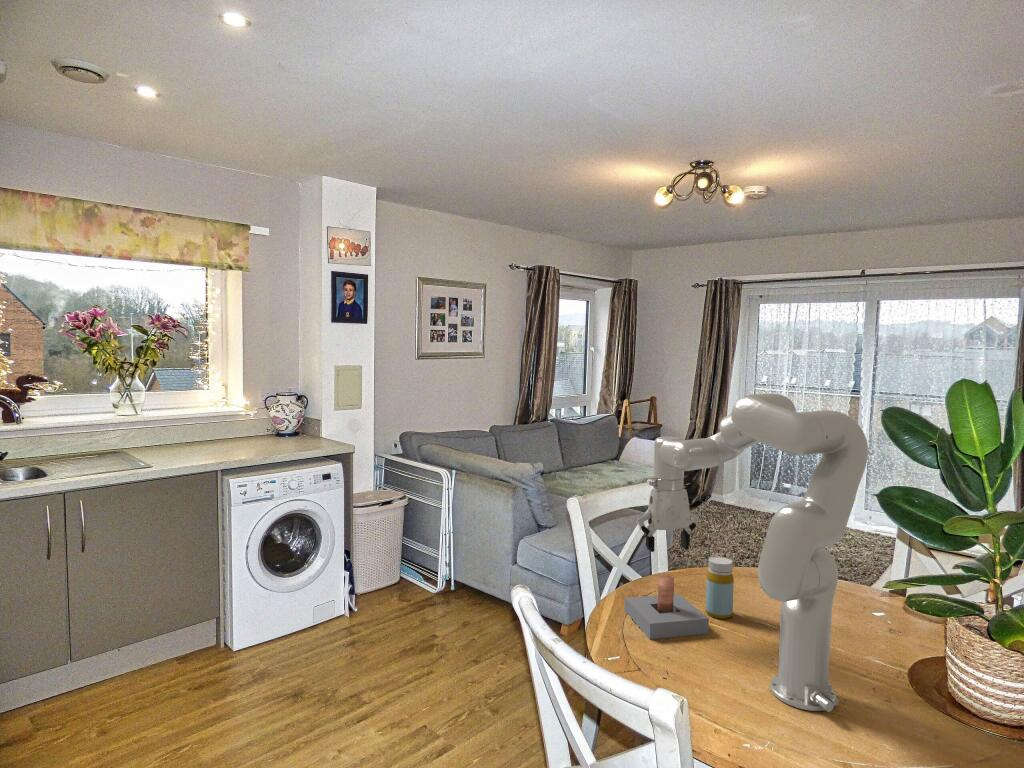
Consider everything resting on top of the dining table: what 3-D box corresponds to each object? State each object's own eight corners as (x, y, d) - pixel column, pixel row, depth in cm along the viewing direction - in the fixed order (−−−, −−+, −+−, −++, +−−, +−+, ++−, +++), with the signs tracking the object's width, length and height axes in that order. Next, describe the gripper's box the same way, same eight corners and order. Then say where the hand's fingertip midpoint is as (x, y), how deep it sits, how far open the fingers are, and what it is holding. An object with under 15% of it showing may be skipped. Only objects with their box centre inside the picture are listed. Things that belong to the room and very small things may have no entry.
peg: (675, 625, 161) (676, 580, 160) (661, 626, 160) (662, 581, 159) (668, 618, 165) (669, 574, 164) (654, 620, 164) (655, 575, 163)
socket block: (708, 633, 156) (708, 618, 156) (649, 639, 153) (650, 623, 153) (678, 607, 172) (678, 593, 172) (624, 612, 168) (624, 598, 168)
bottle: (736, 620, 164) (737, 565, 164) (709, 619, 165) (711, 564, 164) (727, 609, 171) (729, 556, 170) (702, 608, 171) (703, 555, 171)
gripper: (643, 488, 155) (642, 556, 155) (706, 485, 158) (705, 551, 159) (631, 482, 162) (630, 547, 163) (691, 480, 166) (690, 542, 166)
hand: (667, 549), depth 161 cm, fingers open, 9 cm apart
